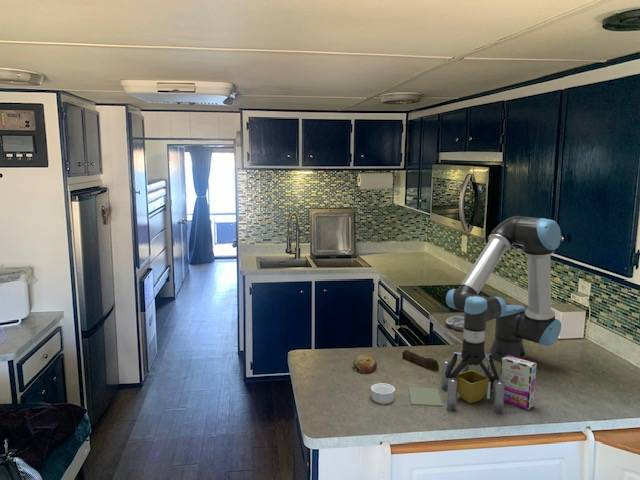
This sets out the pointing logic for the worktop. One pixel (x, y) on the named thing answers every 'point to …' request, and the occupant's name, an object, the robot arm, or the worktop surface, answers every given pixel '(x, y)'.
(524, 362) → the candy bar box
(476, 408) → the worktop surface
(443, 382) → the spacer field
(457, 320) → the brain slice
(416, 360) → the brown wood log
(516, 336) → the robot arm
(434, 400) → the pad
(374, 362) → the bread roll
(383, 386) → the ramekin
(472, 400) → the flower pot
